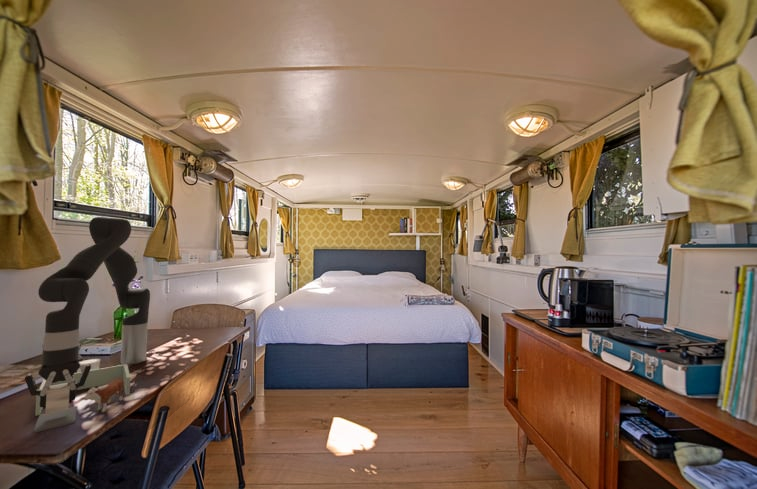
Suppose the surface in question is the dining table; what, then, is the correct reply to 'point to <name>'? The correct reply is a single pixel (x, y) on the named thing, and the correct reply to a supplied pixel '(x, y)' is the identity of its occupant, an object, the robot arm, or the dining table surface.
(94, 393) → the bull figurine
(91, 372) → the green u-shaped frame
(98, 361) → the cream cup
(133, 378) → the dining table surface
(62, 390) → the cream block
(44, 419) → the grey rectangular plate
